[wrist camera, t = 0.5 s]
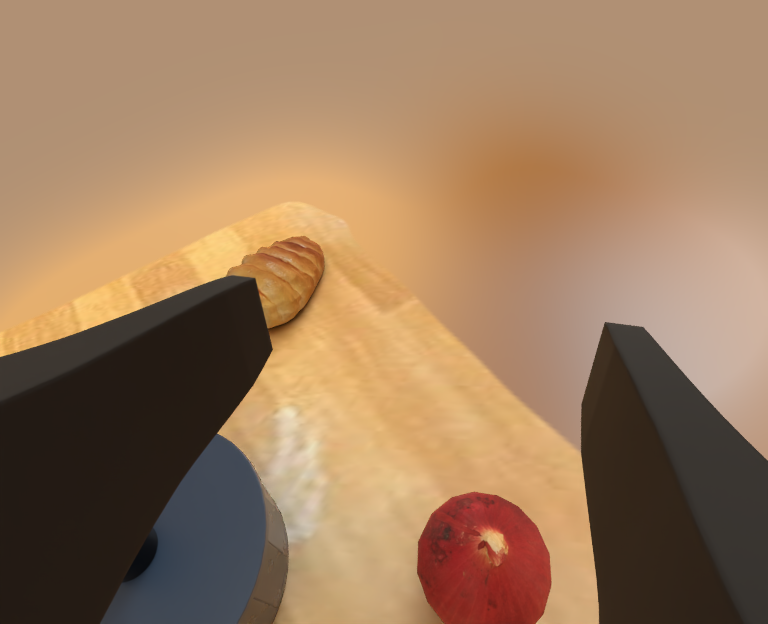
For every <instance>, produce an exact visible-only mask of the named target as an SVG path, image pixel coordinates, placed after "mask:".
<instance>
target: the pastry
mask: <svg viewBox="0 0 768 624" xmlns="http://www.w3.org/2000/svg"><path fill="white" fill-rule="evenodd" d="M323 271H324V255H323V251H322V250H321V248H320V246H319V245H318V244H317V243H315V242H313V241H311V240H310V239H309V238H307V237H306V236H300V237H291V238H288V239H286V240H283V241H281V242H278V241H276V242H274V243H273V244H272V245H271V246H270V247H261V248H260V249H259V250H258V251H257V253H256V254H253V255H246V256H245V257H244V258H243V260H242V265H240V266H236V267H232V268H230V269H229V271H228V273H227V276H231V275H236V276H244V277H252V278H256V283H257V287H258V291H259V295H260V299H261V303H262V307H263V311H264V315H265V320H266V324H267V328H272V327H274V326H278V325H282V324H284V323H286V322H288V321H290V320H291V319H293V318H294V317H295V315H296V314H297V313H298V312H299V311H300V310H301V309H302V308H304V306H305V305H306V303H307V301H308V300H309V298H310V296H311V295H312V293H313V292H314V289H315V287H316V285H317V284H318V282H319V280H320V278H321V275H322V273H323ZM227 276H226V277H227Z"/></svg>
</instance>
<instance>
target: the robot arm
mask: <svg viewBox="0 0 768 624" xmlns="http://www.w3.org/2000/svg"><path fill="white" fill-rule="evenodd" d="M272 350H273V348H272V344H271V340H270V336H269V332H268V328H267V324H266V320H265V315H264V311H263V307H262V303H261V299H260V295H259V291H258V287H257V283H256V278H252V277H244V276H236V275H231V276H227V277H224V278H220V279H217V280H214V281H211V282H208V283H206V284H203V285H200V286H198V287H195V288H192V289H190V290H187V291H185V292H182V293H180V294H177V295H175V296H172V297H170V298H167V299H165V300H162V301H160V302H157V303H155V304H152V305H150V306H147V307H145V308H142V309H140V310H137V311H135V312H132V313H130V314H127V315H124V316H122V317H119V318H116V319H114V320H111V321H108V322H106V323H103V324H100V325H98V326H95V327H92V328H90V329H87V330H84V331H82V332H79V333H76V334H73V335H70V336H68V337H65V338H62V339H59V340H56V341H52V342H49V343H46V344H43V345H40V346H37V347H33V348H30V349H27V350H23V351H20V352H17V353H13V354H10V355H6V356H3V357H0V624H100V623H101V621H102V619H103V617H104V615H105V613H106V611H107V610H108V608H109V606H110V604H111V602H112V600H113V598H114V596H115V594H116V592H117V591H118V589H119V587H120V585H121V583H122V581H123V579H124V577H125V575H126V573H127V572H128V570H129V568H130V566H131V564H132V563H133V561H134V559H135V557H136V556H137V554H138V552H139V550H140V549H141V547H142V545H143V544H144V542H145V540H146V538H147V537H148V535H149V533H150V531H151V530H152V528H153V526H154V524H155V523H156V521H157V519H158V518H159V516H160V515H161V513H162V511H163V510H164V508H165V507H166V505H167V503H168V502H169V500H170V498H171V497H172V495H173V494H174V492H175V490H176V489H177V487H178V485H179V484H180V482H181V481H182V480H183V478H184V477H185V475H186V474H187V472H188V471H189V470H190V468H191V467H192V465H193V464H194V463H195V461H196V460H197V459H198V457H199V456H200V455H201V453H202V452H203V451H204V450H205V448H206V447H207V446H208V444H209V443H210V442H211V440H212V439H213V438H214V437H215V435H216V434H217V433H218V431H219V430H220V429H221V427H222V426H223V425H224V423H225V422H226V421H227V420H228V418H229V417H230V416H231V414H232V413H233V412H234V410H235V409H236V408H237V406H238V405H239V404H240V402H241V401H242V400H243V398H244V397H245V396H246V394H247V393H248V392H249V390H250V389H251V387H252V386H253V384H254V383H255V381H256V379H257V378H258V376H259V374H260V372H261V371H262V369H263V367H264V365H265V363H266V361H267V360H268V358H269V356H270V354H271V352H272ZM581 413H582V414H581V416H582V417H581V455H582V464H583V473H584V481H585V489H586V497H587V505H588V513H589V521H590V529H591V537H592V545H593V553H594V561H595V569H596V578H597V590H598V602H599V624H768V461H767V460H766V459H765V458H764V457H763V456H762V455H761V454H760V453H759V452H758V451H757V450H756V449H755V448H754V447H753V446H752V445H751V444H750V443H749V442H748V441H747V440H746V439H745V438H744V437H743V436H742V435H741V434H740V433H739V432H738V431H737V430H736V429H735V428H734V427H733V426H732V425H731V424H730V423H729V422H728V421H727V420H726V419H725V418H724V417H723V416H722V415H721V414H720V413H719V412H718V411H717V410H716V408H714V406H713V405H712V404H711V403H710V402H709V401H708V400H707V399H706V398H705V397H704V395H702V394H701V392H700V391H699V390H698V389H697V388H696V387H695V386H694V384H693V383H692V382H691V381H690V380H689V379H688V378H687V377H686V376H685V374H684V373H683V372H682V371H681V370H680V369H679V368H678V366H677V365H676V364H675V363H674V362H673V361H672V359H671V358H670V357H669V356H668V355H667V354H666V353H665V351H664V350H663V349H662V348H661V347H660V346H659V344H658V343H657V342H656V341H655V340H654V339H653V338H652V336H651V335H650V334H649V333H648V332H647V331H646V330H645V329H644V328H643V327H639V326H631V325H623V324H615V323H607V322H605V324H604V327H603V331H602V334H601V338H600V341H599V345H598V348H597V352H596V355H595V359H594V362H593V366H592V369H591V373H590V377H589V380H588V384H587V387H586V390H585V394H584V398H583V401H582V412H581Z"/></svg>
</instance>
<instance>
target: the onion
mask: <svg viewBox="0 0 768 624" xmlns="http://www.w3.org/2000/svg"><path fill="white" fill-rule="evenodd" d="M417 573H418V576H419V579H420V582H421V584H422V587H423V590H424V593H425V596H426V599H427V601H428V603H429V604H430V606H431V607H432V608H433V609H434V611H435V612H436V613H437V614H438V616H439V617H440V618H441V620H442V621H443V622H444V623H445V624H536V622H537V621H538V620H539V619H540V618H541V616H542V615H543V613H544V610H545V606H546V603H547V599H548V596H549V592H550V589H551V570H550V555H549V552H548V550H547V548H546V545H545V543H544V541H543V539H542V537H541V534H540V532H539V530H538V528H537V526H536V525H535V524H534V523H533V522H532V521H531V520H530V519H529V517H528V516H527V515H526V514H525V513H524V512H523V511H522V510H521V509H520V508H519V507H518V506H516V505H514V504H512V503H511V502H509V501H507V500H505V499H503V498H501V497H499V496H497V495H490V494H484V493H478V492H471V493H467V494H463V495H459V496H455V497H452V498H450V499H449V500H448V501H447V502H445V503H444V504H443V505H442V506H441V507H439V508H438V509H437V510H436V511H434V512H433V513H432V514H431V516H430V518H429V520H428V522H427V525H426V527H425V529H424V531H423V533H422V535H421V537H420V539H419V541H418V565H417Z"/></svg>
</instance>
